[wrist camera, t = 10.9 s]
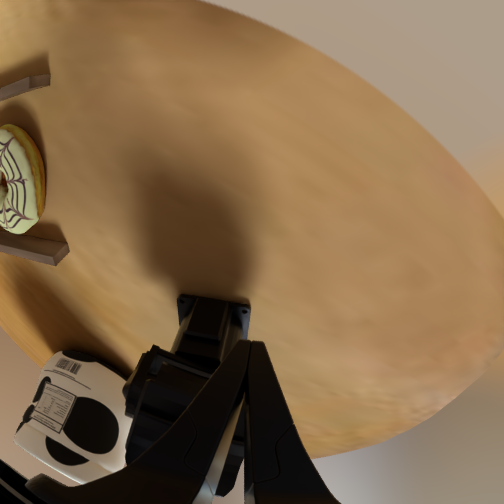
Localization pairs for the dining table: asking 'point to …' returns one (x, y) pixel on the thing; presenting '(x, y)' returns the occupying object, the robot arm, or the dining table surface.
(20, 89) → the u-shaped brown rail
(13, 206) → the decorated donut
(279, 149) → the dining table surface
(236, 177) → the dining table surface
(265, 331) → the dining table surface
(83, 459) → the milk container
